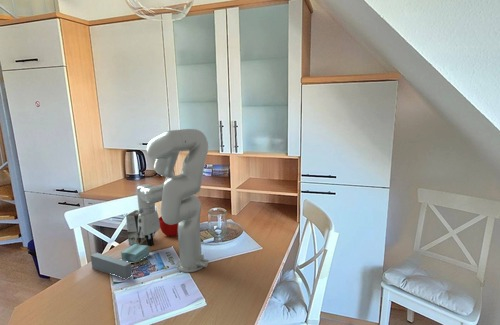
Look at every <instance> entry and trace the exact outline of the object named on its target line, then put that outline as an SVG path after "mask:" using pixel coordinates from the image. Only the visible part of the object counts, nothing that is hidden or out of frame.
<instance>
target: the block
mask: <svg viewBox="0 0 500 325" xmlns="http://www.w3.org/2000/svg"><path fill="white" fill-rule="evenodd" d="M149 249H150V246H147V244H146V245H144V244H140V245H139V244H134V245H130V246H129V247H127V248H126V249H124V250H123V251H121V252H120V254H121V260H123V261H128V262H138V261H140V260H141V259H143V258H144V257H146V256H148V255H149V256H150V250H149ZM149 256H148V257H149ZM146 258H147V257H146ZM143 260H144V259H143Z"/></svg>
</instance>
